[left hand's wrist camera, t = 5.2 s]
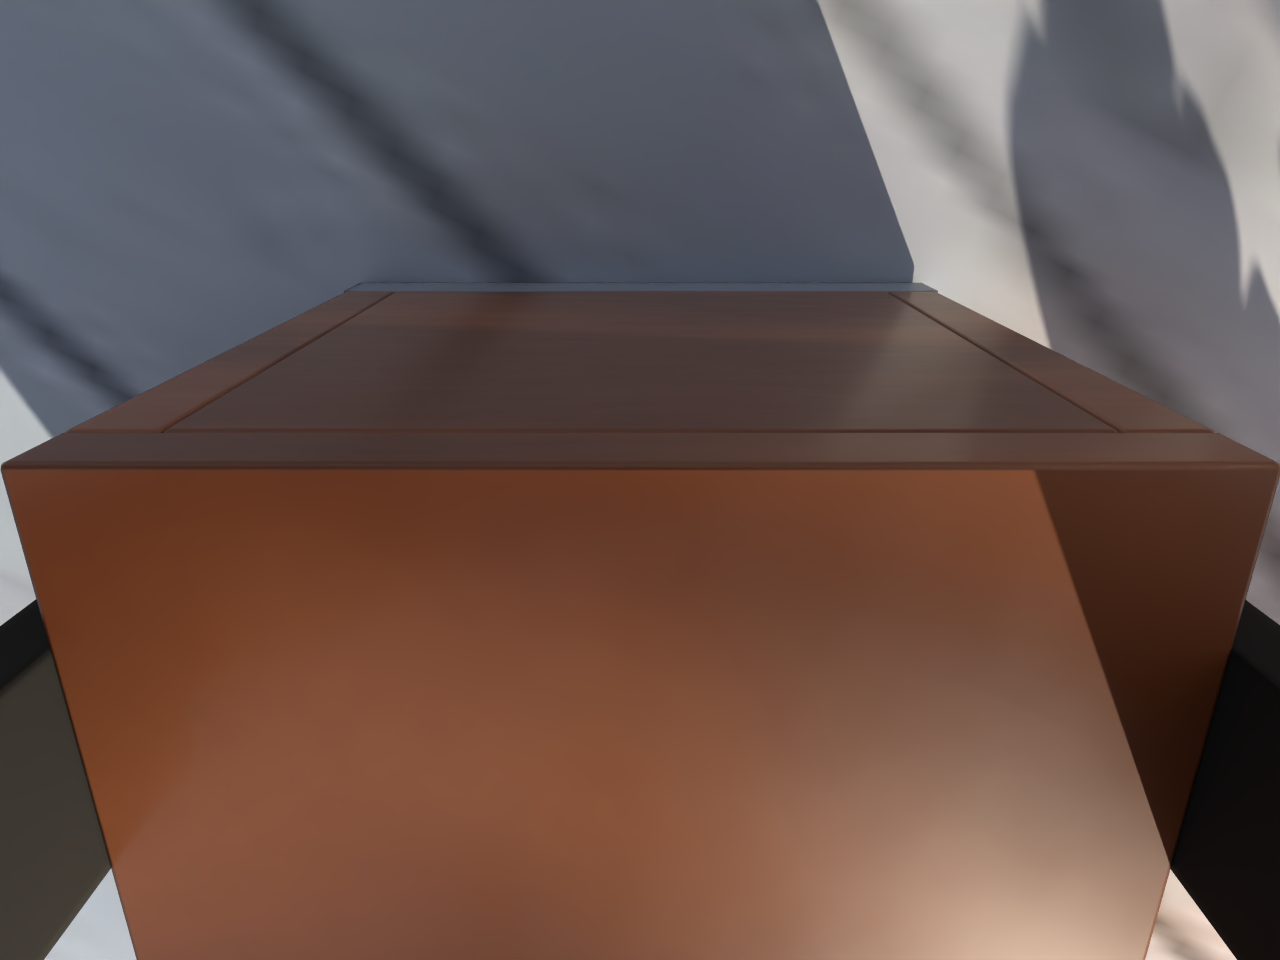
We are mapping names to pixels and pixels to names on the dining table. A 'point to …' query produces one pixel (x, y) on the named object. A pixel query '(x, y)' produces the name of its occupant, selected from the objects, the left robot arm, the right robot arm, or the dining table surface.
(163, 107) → the dining table surface
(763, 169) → the dining table surface
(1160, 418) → the cabinet
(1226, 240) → the dining table surface
